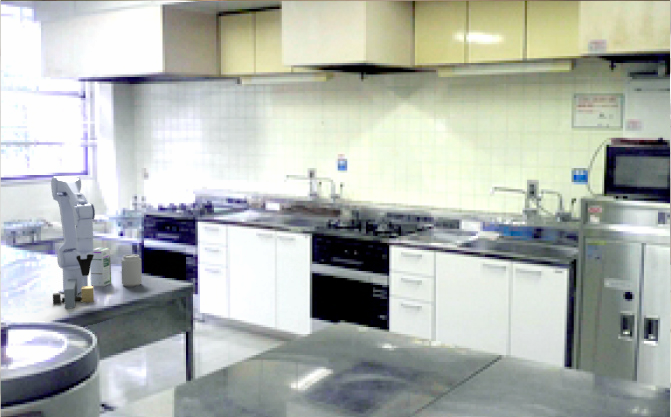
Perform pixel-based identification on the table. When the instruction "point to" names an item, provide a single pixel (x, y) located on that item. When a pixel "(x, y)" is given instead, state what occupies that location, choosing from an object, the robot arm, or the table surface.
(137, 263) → the can
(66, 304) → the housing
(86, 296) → the plug
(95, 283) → the syrup box
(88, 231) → the robot arm
